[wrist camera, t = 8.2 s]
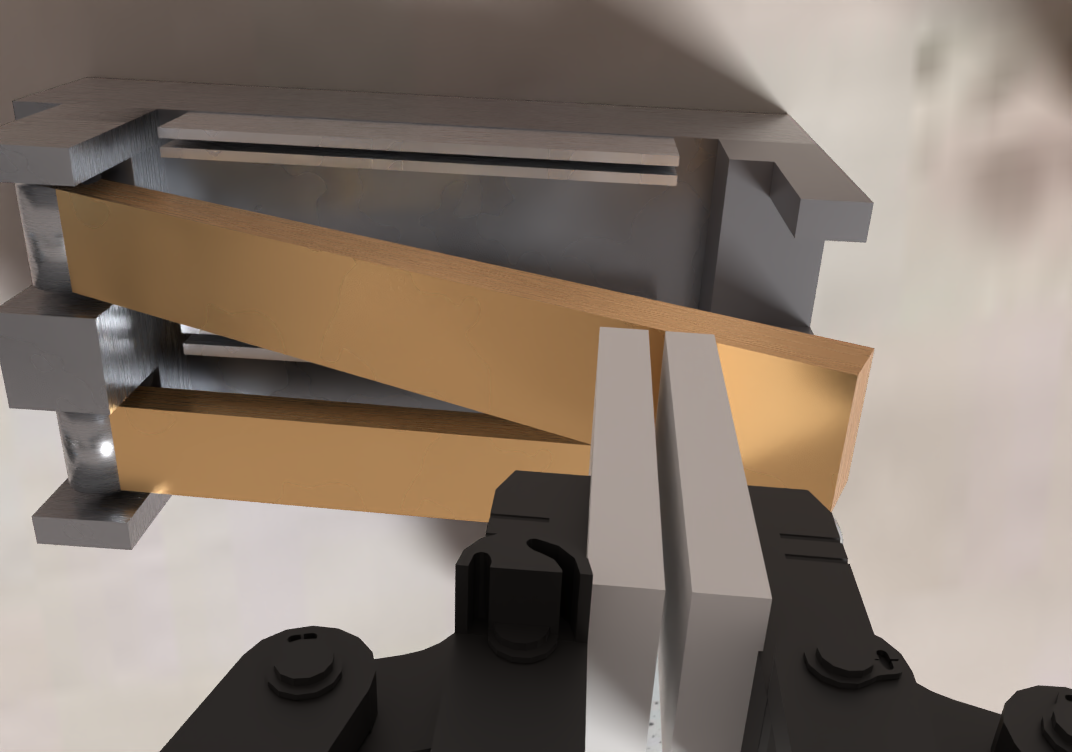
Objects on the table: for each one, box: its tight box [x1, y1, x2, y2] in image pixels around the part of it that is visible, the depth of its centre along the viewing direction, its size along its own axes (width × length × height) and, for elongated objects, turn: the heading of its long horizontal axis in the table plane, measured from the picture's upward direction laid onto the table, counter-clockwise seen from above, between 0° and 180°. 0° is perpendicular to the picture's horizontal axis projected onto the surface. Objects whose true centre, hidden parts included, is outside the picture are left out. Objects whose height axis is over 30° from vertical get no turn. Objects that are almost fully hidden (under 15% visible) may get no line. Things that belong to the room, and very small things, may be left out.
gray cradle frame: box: [0, 77, 818, 550], centre depth 26 cm, size 20×10×9 cm, turn 88°
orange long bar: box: [56, 386, 591, 522], centre depth 25 cm, size 19×2×2 cm, turn 87°
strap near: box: [14, 174, 874, 512], centre depth 19 cm, size 19×2×2 cm, turn 87°
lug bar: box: [698, 139, 873, 335], centre depth 24 cm, size 2×10×5 cm, turn 177°
